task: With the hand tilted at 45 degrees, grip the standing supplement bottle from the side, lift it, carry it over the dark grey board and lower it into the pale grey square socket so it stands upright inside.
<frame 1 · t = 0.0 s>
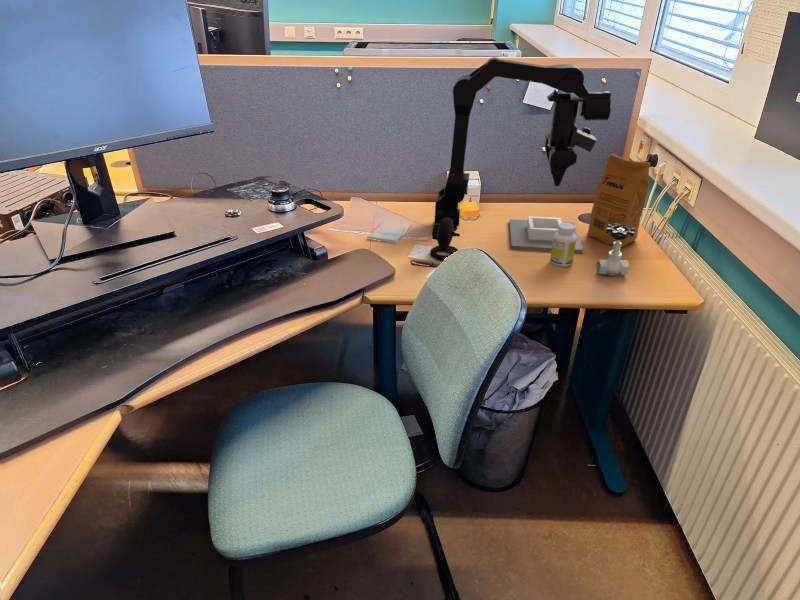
hand: (555, 180, 145), 15 cm above the table, tool pointing down, fingers open, 9 cm apart
socket board: (543, 236, 149), on the table
external hard drive: (390, 235, 152), on the table
webcam: (444, 255, 140), on the table
valve: (610, 275, 130), on the table
supplement bottle: (560, 263, 136), on the table
coffee package: (610, 238, 149), on the table
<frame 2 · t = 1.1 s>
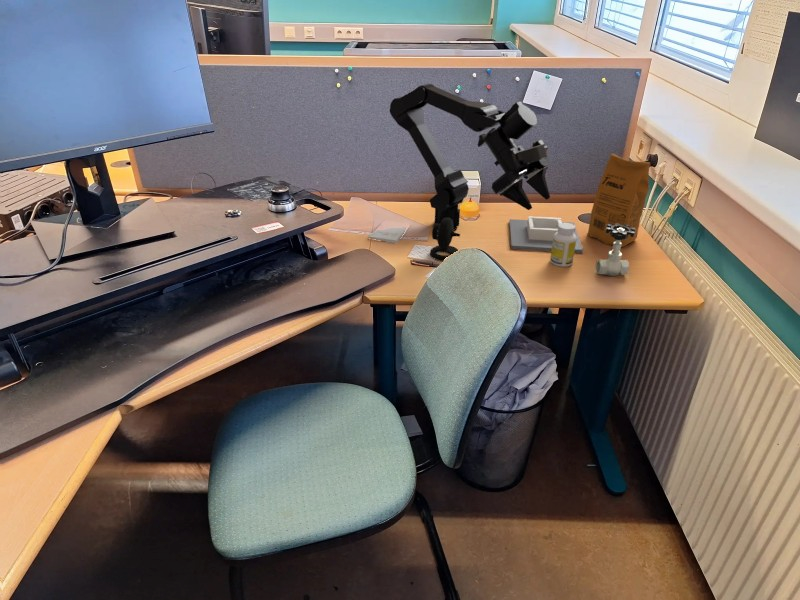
hand: (539, 203, 134), 13 cm above the table, tool tilted 45°, fingers open, 9 cm apart
nothing on the table moved.
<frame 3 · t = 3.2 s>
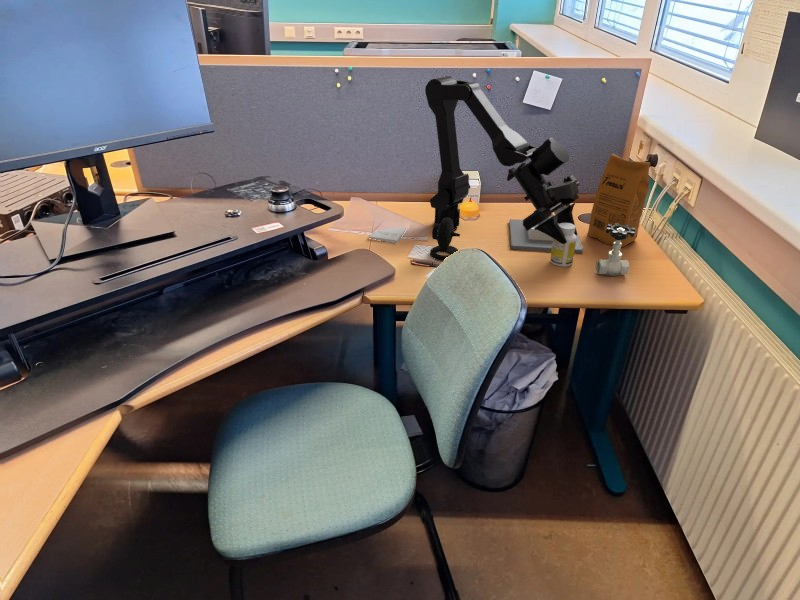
hand: (570, 239, 132), 7 cm above the table, tool tilted 45°, fingers closed on supplement bottle, 5 cm apart
supplement bottle: (560, 263, 136), on the table, touching gripper
everything else where it was.
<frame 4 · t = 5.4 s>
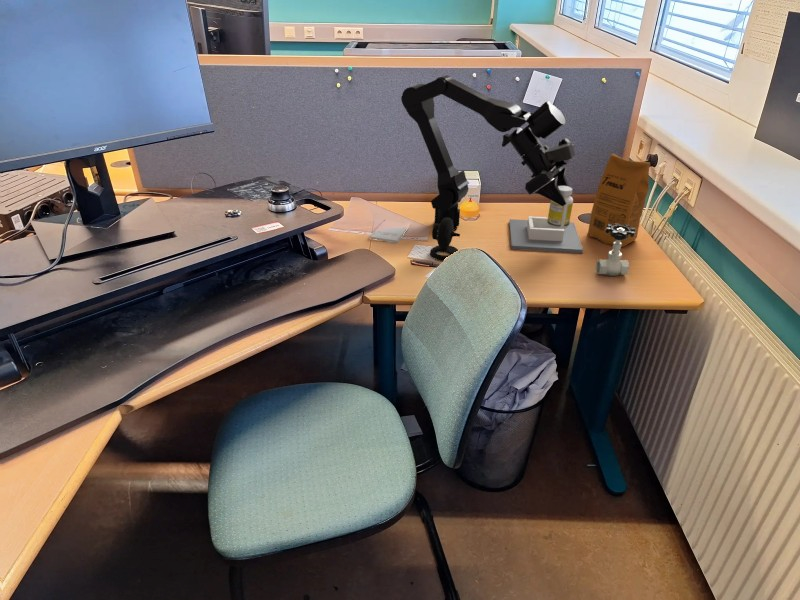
hand: (567, 201, 135), 13 cm above the table, tool tilted 45°, fingers closed on supplement bottle, 5 cm apart
supplement bottle: (557, 225, 139), point 6 cm above the table, touching gripper
everything else where it was.
when the fingers open (8 cm above the table, at t = 7.6 s): supplement bottle stays where it is, resting on socket board.
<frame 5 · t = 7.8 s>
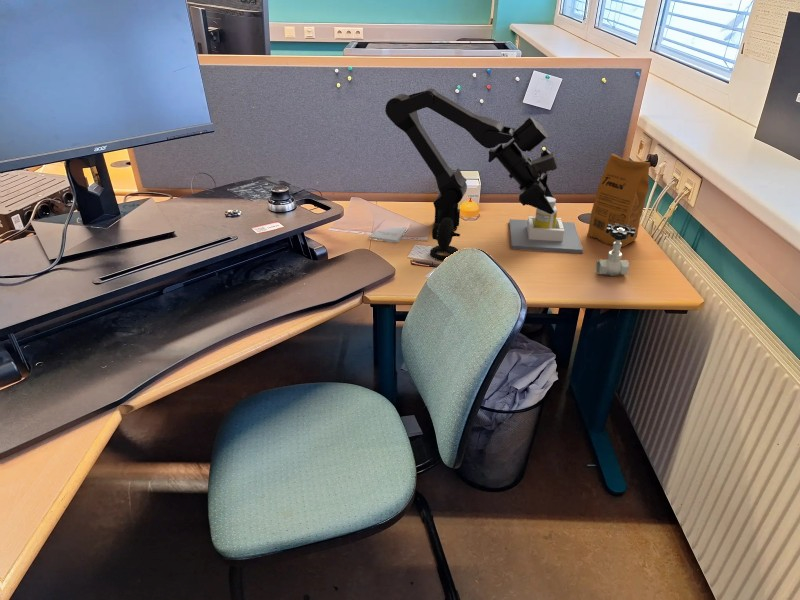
hand: (553, 207, 144), 9 cm above the table, tool tilted 45°, fingers open, 7 cm apart
supplement bottle: (543, 234, 149), point 1 cm above the table, touching socket board
everything else where it was.
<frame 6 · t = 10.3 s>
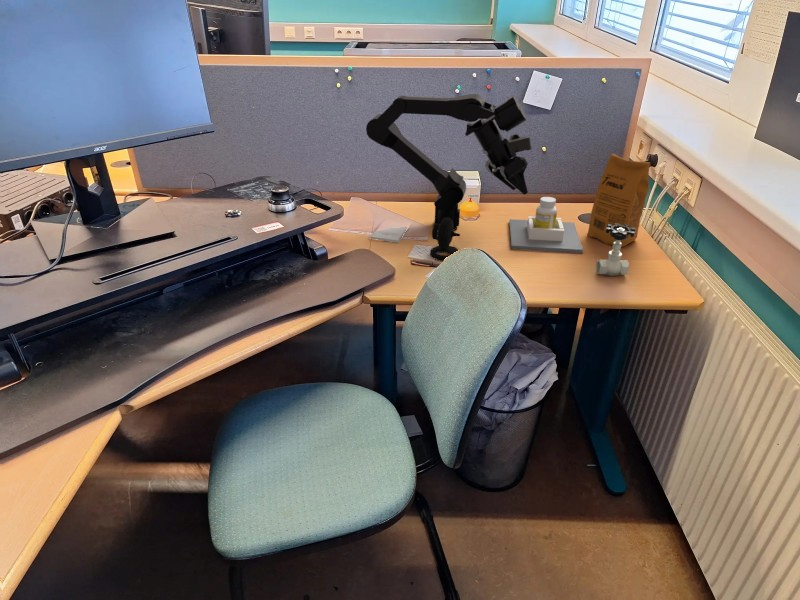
hand: (520, 191, 146), 12 cm above the table, tool tilted 35°, fingers open, 9 cm apart
nothing on the table moved.
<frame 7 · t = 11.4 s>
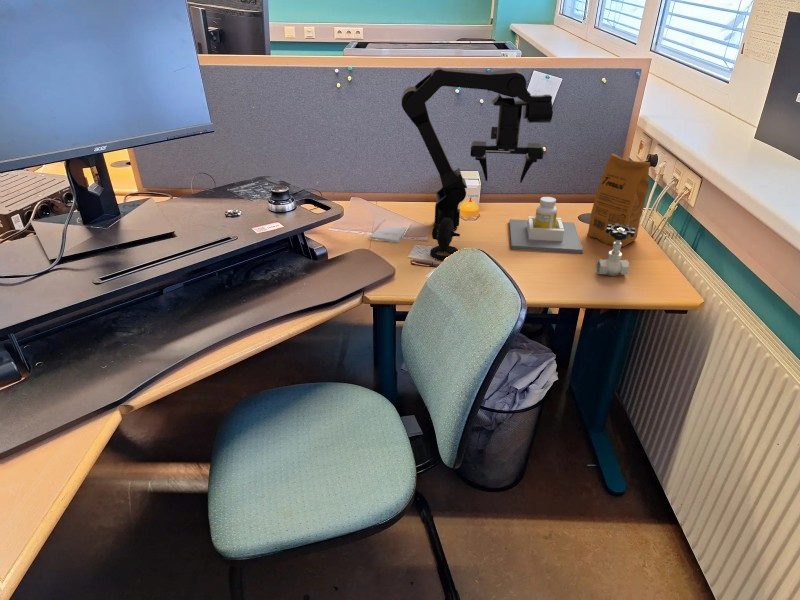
hand: (503, 181, 149), 13 cm above the table, tool pointing down, fingers open, 9 cm apart
nothing on the table moved.
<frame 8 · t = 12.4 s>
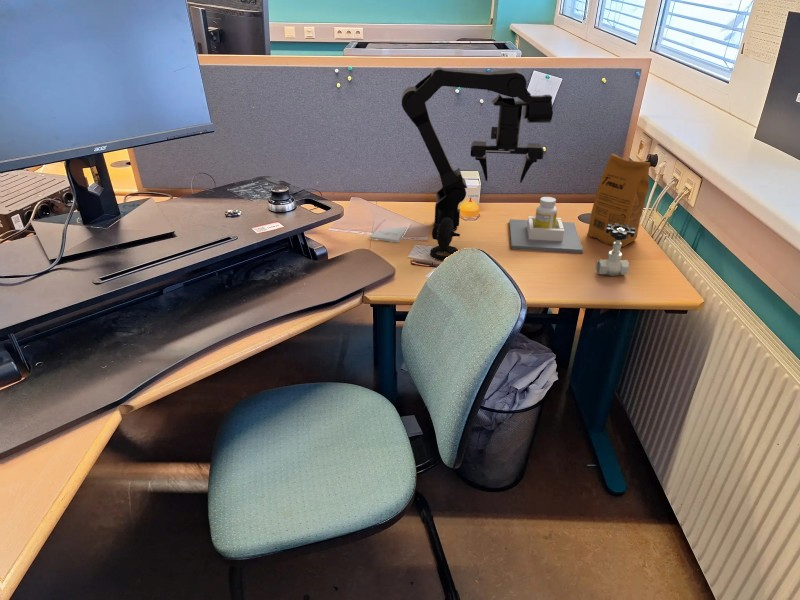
hand: (503, 181, 149), 13 cm above the table, tool pointing down, fingers open, 9 cm apart
nothing on the table moved.
at the end: supplement bottle 0.2 cm off-centre on the socket board, point 0.8 cm above the socket board's base; supplement bottle tilted 0°; the gripper is holding nothing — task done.
